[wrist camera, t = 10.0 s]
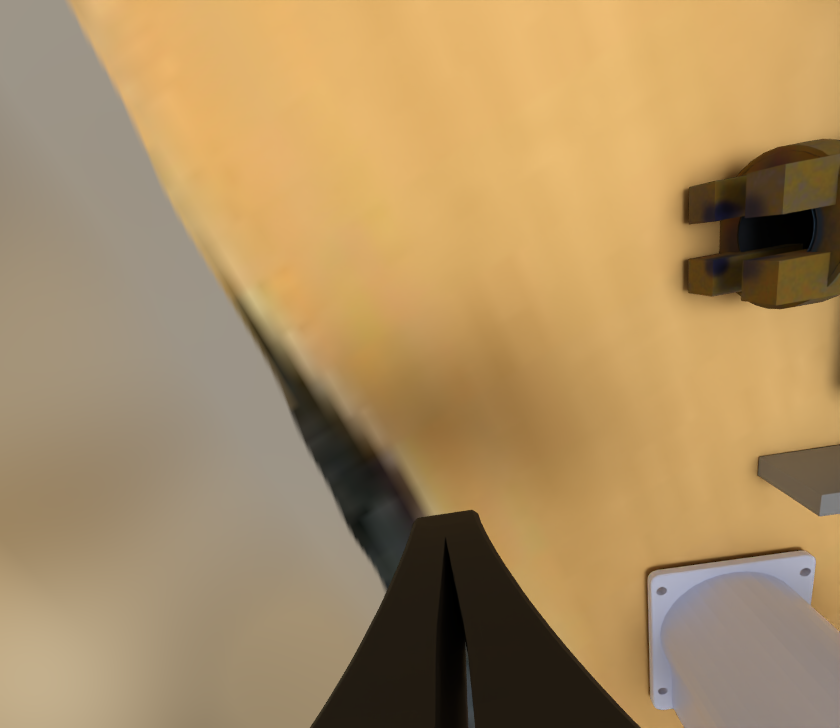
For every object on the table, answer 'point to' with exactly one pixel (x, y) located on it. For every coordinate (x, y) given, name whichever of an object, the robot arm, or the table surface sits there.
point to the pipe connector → (773, 228)
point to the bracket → (806, 477)
